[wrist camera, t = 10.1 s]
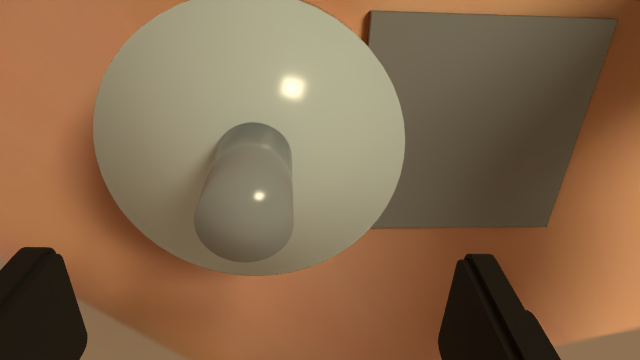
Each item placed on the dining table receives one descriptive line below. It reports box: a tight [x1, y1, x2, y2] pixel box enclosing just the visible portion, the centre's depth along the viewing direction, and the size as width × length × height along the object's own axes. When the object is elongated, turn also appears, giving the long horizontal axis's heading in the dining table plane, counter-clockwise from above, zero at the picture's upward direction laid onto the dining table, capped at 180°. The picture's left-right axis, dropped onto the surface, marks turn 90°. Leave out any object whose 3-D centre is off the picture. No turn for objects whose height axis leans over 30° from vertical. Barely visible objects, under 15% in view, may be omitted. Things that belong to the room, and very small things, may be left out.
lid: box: [93, 0, 405, 276], centre depth 17 cm, size 13×13×6 cm
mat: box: [367, 11, 618, 228], centre depth 27 cm, size 14×14×1 cm
